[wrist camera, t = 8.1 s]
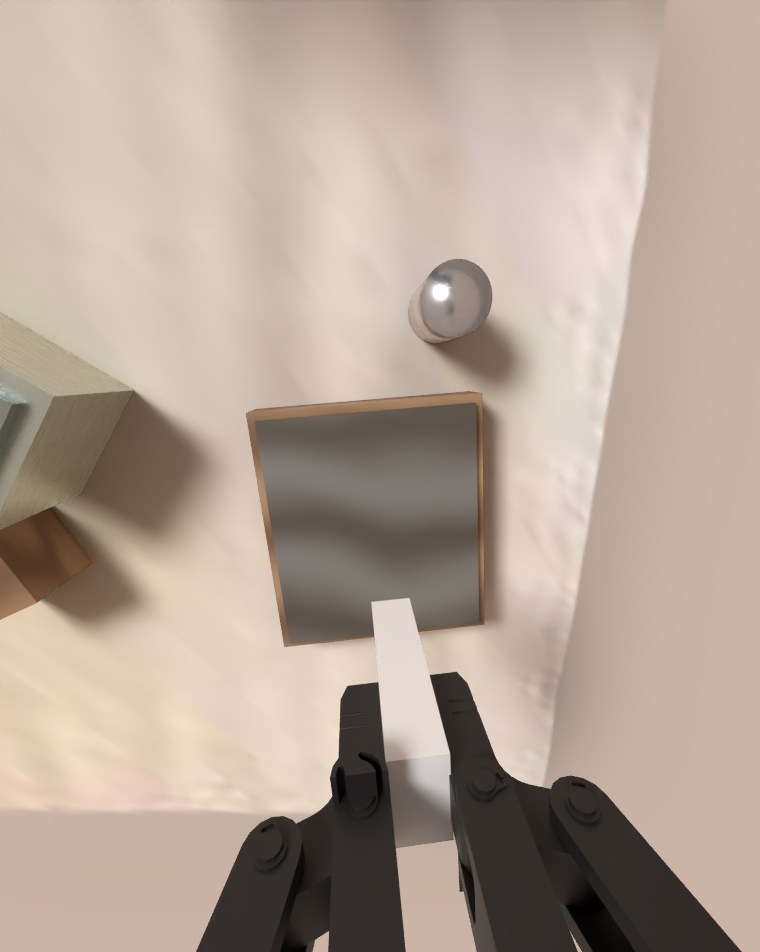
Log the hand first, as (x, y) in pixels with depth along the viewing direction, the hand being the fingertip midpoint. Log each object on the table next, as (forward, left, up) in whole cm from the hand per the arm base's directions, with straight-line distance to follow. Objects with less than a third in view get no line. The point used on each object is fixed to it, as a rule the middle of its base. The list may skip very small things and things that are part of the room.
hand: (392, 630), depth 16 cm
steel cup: (-13, +5, -13) cm, 19 cm away
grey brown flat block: (0, 0, -13) cm, 13 cm away
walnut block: (0, -23, -13) cm, 26 cm away
